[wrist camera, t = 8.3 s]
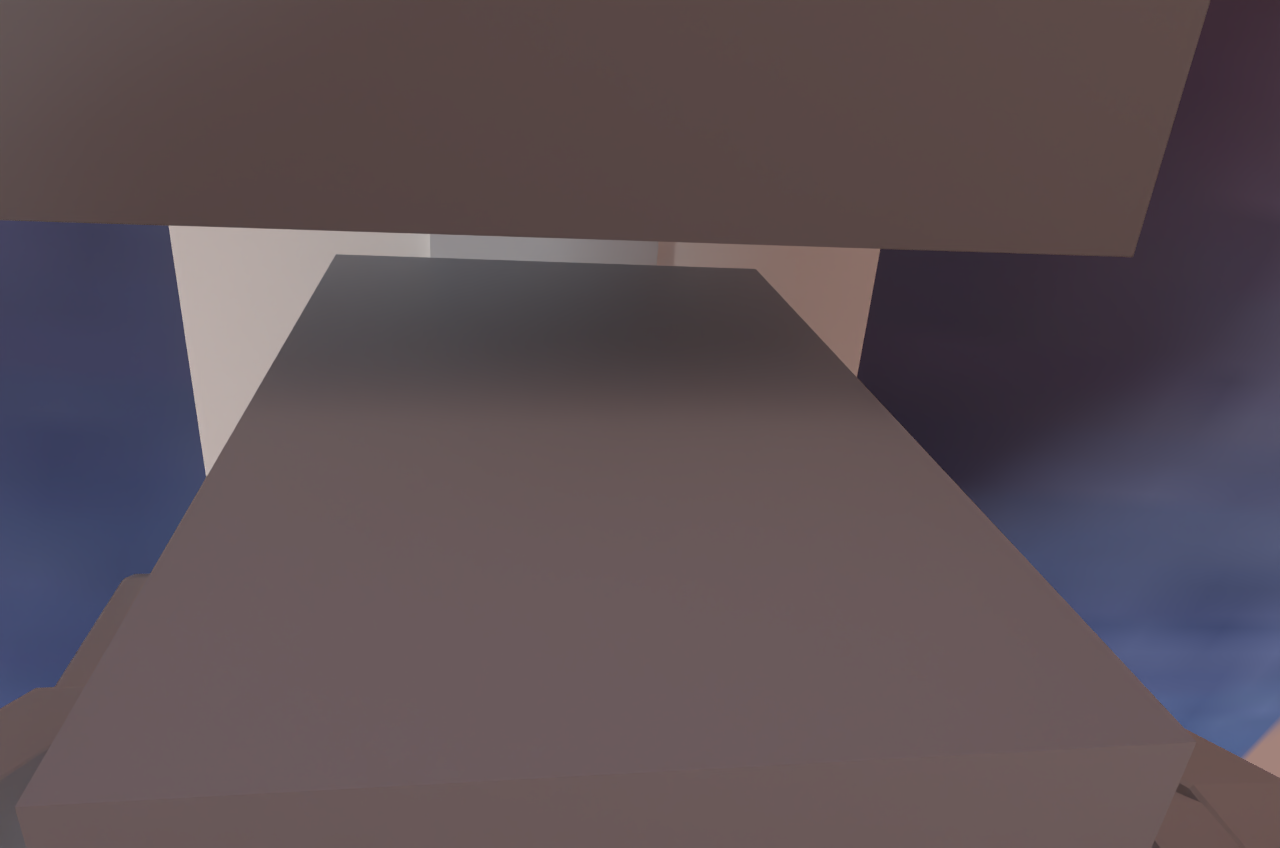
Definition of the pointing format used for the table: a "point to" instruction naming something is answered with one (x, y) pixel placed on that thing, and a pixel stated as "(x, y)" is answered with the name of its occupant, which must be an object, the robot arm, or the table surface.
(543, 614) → the block
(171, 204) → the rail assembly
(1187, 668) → the table surface
